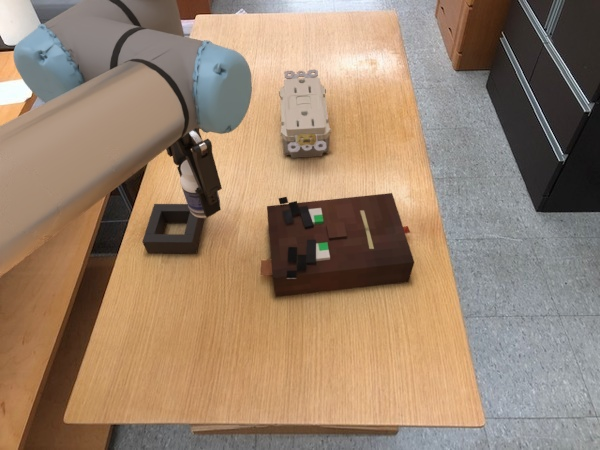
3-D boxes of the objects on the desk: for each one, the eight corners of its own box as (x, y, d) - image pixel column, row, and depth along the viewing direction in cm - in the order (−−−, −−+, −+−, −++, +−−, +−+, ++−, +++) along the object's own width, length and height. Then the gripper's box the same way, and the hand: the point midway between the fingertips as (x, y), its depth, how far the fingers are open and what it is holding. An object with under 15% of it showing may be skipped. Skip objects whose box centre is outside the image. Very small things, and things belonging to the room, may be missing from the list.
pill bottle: (221, 216, 76) (210, 176, 68) (189, 220, 75) (174, 180, 68) (220, 193, 79) (210, 152, 71) (190, 197, 79) (176, 155, 71)
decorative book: (430, 263, 78) (258, 282, 77) (422, 286, 84) (263, 304, 83) (402, 184, 90) (254, 200, 89) (397, 209, 96) (258, 223, 95)
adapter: (196, 254, 90) (192, 242, 87) (148, 253, 91) (141, 241, 88) (205, 216, 96) (201, 203, 93) (159, 215, 97) (154, 203, 94)
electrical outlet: (323, 95, 121) (323, 63, 113) (332, 174, 105) (334, 144, 96) (280, 97, 121) (277, 66, 113) (283, 177, 105) (280, 147, 96)
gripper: (229, 104, 55) (252, 222, 73) (159, 45, 64) (195, 163, 82) (176, 130, 52) (213, 246, 70) (110, 65, 61) (158, 182, 79)
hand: (203, 201), depth 76 cm, fingers closed on pill bottle, 5 cm apart
